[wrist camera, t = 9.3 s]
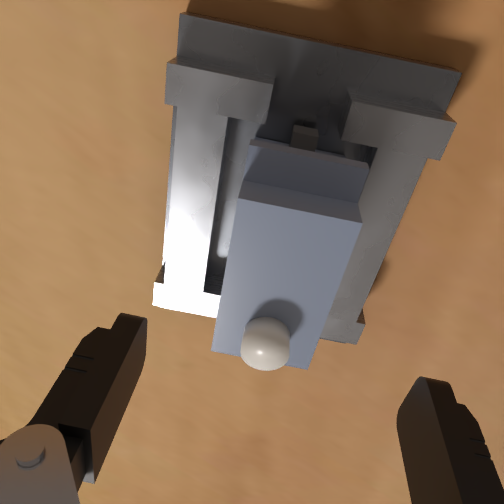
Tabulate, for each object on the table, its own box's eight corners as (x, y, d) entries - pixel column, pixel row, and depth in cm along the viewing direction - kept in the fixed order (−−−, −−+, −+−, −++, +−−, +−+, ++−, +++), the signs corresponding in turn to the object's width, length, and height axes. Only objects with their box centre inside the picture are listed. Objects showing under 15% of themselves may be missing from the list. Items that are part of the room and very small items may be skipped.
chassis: (185, 11, 17) (169, 16, 15) (454, 68, 17) (476, 81, 15) (164, 295, 25) (152, 324, 23) (343, 331, 25) (347, 363, 23)
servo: (260, 107, 17) (240, 173, 11) (354, 127, 17) (382, 202, 12) (227, 284, 23) (203, 390, 17) (299, 298, 23) (300, 409, 17)
